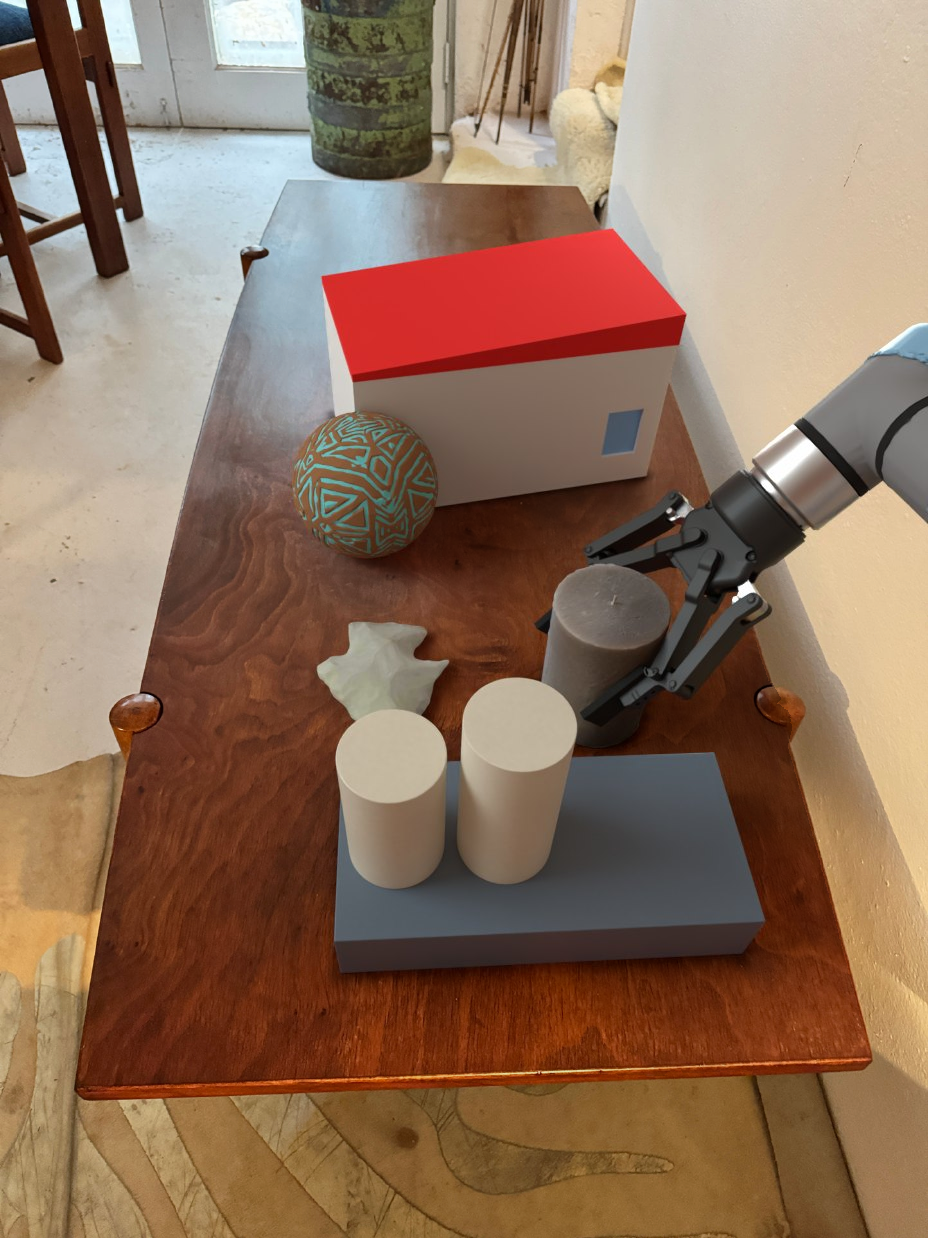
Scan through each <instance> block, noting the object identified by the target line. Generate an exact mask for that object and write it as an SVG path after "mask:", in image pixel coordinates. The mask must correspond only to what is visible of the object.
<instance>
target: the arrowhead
mask: <svg viewBox="0 0 928 1238" xmlns="http://www.w3.org/2000/svg"><path fill="white" fill-rule="evenodd" d="M347 627H348V632H347V634H348V642H349V647H348V650H347V652H345V653H344V654H343V655H333V656H332V655H331V656H330V657H328V658H327V659H326V660H325V661H323V662H321V663H320V664H318V665H317V667H316V671H317V675H318V678H319V680H321V681H323V682H324V684H325V685H326V686H327V687H328V688H329V691H330V694H331V695H332V696H333V698H335V699H336V700H337V701H338V702H339V703H340V704H342V705H343V706H344V707H345V709H346V710H347V712H348V715H349V716H350V718H351V719H352V720H354V722H356V721H357V720H359V719H360V718H362V717H364V716H366V715H368V714H371V713H374V712H377V711H381V710H389V709H397V710H405V711H410V712H413V713H416V714H418V715H420V716H422V715H423V714H424V712H425V711H426V709H427V707H428V706H429V704H430V703H431V698H432V694H433V690H434V685H435V682H436V680H438V678H439V677H440V676H441V675H442V673H443V672H444V670H445V669H446V668H447V667H448V665H449V664H450V660H449V659H443V660H442V659H441V660H440V661H439V660H438V661H437V660H431V659H430V660H429V659H427V660H422V659H418V658H416V657H415V655H414V653H415V650H416V648H418V647H420V645H421V644H422V643H423V641H424V639H425V638H426V636H427V635H428V631H427V629H426V628H424V627H423V626H421V625H412V624H408V623H397V622H394V621H391V622H383V623H382V622H381V623H380V622H372V621H353V622H350V623H348V626H347Z"/></svg>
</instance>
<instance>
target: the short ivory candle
mask: <svg viewBox="0 0 928 1238" xmlns="http://www.w3.org/2000/svg"><path fill="white" fill-rule="evenodd" d="M447 761H448V751H447V745H446V741H445V739H444V737H443V735H442V733H441V732H440V730H439V729H438V728H437V726H436V725H434V724H433V723H432V722H431V721H430V720H429V719H427V718H425V717H424V716H422V715H421V716H420V715H418V714H416V713H413V712H410V711H405V710H397V709H389V710H381V711H377V712H374V713H371V714H368V715H366V716H364V717H362V718H360V719H359V720H357V721H354V722H353V723H352V724H351V725H349V727H348V728H346V730H345V731H344V732H343V734H342V736H341V737H340V739H339V742H338V743H337V746H336V750H335V766H336V767H335V768H336V774H337V779H338V787H339V793H340V795H341V801H342V807H343V814H344V821H345V827H346V834H347V841H348V847H349V854H350V858H351V861H352V863H353V865H354V867H355V869H356V870H357V871H358V873H359V874H360V875H361V876H362V877H363V878H364V879H366V880H367V881H369V882H370V883H372V884H374V885H377V886H379V887H383V888H388V889H401V888H407V887H411V886H413V885H416V884H418V883H420V882H422V881H423V880H425V879H426V878H427V877H429V876H430V875H431V874H432V873H433V872H434V870H435V869H436V868H437V866H438V865H439V863H440V861H441V859H442V856H443V852H444V843H445V808H446V773H447Z"/></svg>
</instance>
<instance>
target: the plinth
mask: <svg viewBox="0 0 928 1238" xmlns="http://www.w3.org/2000/svg"><path fill="white" fill-rule="evenodd" d="M460 762H461V760H452V761H448V760H447V773H446V808H445V843H444V852H443V856H442V859H441V861H440V863H439V865H438V866H437V868H436V869H435V870H434V872H433V873H432V874H431V875H430V876H429V877H427V878H426V879H425V880H423V881H422V882H420V883H418V884H416V885H413V886H411V887H407V888H401V889H388V888H383V887H379V886H377V885H374V884H372V883H370V882H369V881H367V880H366V879H364V878H363V877H362V876H361V875H360V874H359V873H358V871H357V870H356V869H355V867H354V865H353V863H352V861H351V858H350V854H349V847H348V841H347V834H346V827H345V821H344V814H343V807H342V801H341V794H340V798H339V799H340V800H339V821H338V841H337V842H338V843H337V864H336V867H337V869H336V885H335V886H336V887H335V905H334V906H335V909H334V910H335V911H334V927H333V929H334V931H333V943H334V947H335V953H336V957H337V962H338V966H339V971H340V973H341V974H348V973H349V974H350V973H352V974H353V973H369V972H372V973H373V972H387V971H389V972H391V971H392V972H393V971H413V970H432V969H451V968H452V969H453V968H473V967H494V966H496V967H497V966H513V965H514V966H515V965H535V964H537V965H538V964H555V963H576V962H579V963H580V962H597V961H600V962H601V961H618V960H634V959H635V960H638V959H639V960H640V959H641V960H642V959H657V958H658V959H659V958H678V957H679V958H680V957H681V958H682V957H699V956H700V957H701V956H703V957H704V956H719V955H720V956H721V955H723V956H724V955H740V954H741V955H742V954H743V953H744V952H745V950H747V948H748V946H749V945H750V944H751V942H752V941H753V940H754V938H755V937H756V935H757V934H758V933H759V932H760V930H761V929H762V927H763V926H764V924H765V923H766V919H765V918H766V917H765V915H764V912H763V908H762V905H761V902H760V899H759V895H758V893H757V892H758V891H757V889H756V884H755V882H754V879H753V876H752V872H751V869H750V865H749V863H748V862H749V861H748V858H747V856H746V852H745V849H744V846H743V845H744V844H743V843H742V839H741V835H740V833H739V829H738V826H737V823H736V819H735V816H734V813H733V809H732V806H731V802H730V799H729V797H728V793H727V790H726V786H725V783H724V779H723V776H722V773H721V769H720V767H719V763H718V761H717V757H716V754H715V752H694V753H693V752H692V753H691V752H689V753H688V752H687V753H662V754H660V753H659V754H657V753H656V754H628V755H626V754H625V755H603V756H602V755H601V756H600V755H599V756H597V755H596V756H572V758H571V762H570V767H569V771H568V776H567V780H566V784H565V789H564V793H563V798H562V802H561V806H560V811H559V815H558V819H557V824H556V828H555V833H554V837H553V841H552V846H551V850H550V854H549V857H548V859H547V861H546V863H545V865H544V866H543V868H542V869H541V870H540V871H539V872H538V873H537V874H535V875H534V876H533V877H531V878H529V879H528V880H525V881H523V882H519V883H515V884H497V883H492V882H489V881H486V880H484V879H482V878H480V877H479V876H477V875H476V874H474V873H473V872H472V871H471V870H470V869H469V868H468V867H467V866H466V865H465V863H464V862H463V860H462V858H461V856H460V854H459V851H458V847H457V821H458V801H459V782H460Z"/></svg>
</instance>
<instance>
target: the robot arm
mask: <svg viewBox="0 0 928 1238" xmlns="http://www.w3.org/2000/svg"><path fill="white" fill-rule="evenodd" d="M751 463H752V464H753V467H752V468H751V469H750V470H748V469H747V468H743V469H741V468H740V469H738V470H737V471H736V472H735V473H734V474H732V475H731V476H730V477H729V478H728V479H727V480H726V481H724V482H723V483H722V484H720V485H719V486H718V487H717V488H716V489H715V490H714V491H712V492H711V493H710V495H709V500H708V501H707V503H705V504H704V505H702V506H699V507H696V508H694V507H693V503H692V502H691V501H689V499H687V498H686V497H685V496H684V495H683V494H682V493H681V492H679V490H677V489H672V490H670V491H669V492H668V493H667V494H665V495H664V496H663V498H661V499H660V500H659V501H658V502H657V504H656V505H654V506H653V507H652V508H650V509H648V510H646V511H645V512H642V513H641V514H639V515H637V516H635V517H634V518H631V519H630V520H628V521H626V522H625V523H623V524H621V525H620V526H618V527H616V528H615V529H612V530H611V531H609V532H607V533H606V534H603V535H602V536H600V537H598V538H597V539H595V540H593V541H591V542H590V543H587V544H586V545H585V546H584V548H583V553H582V554H583V555H584V556H585V557H586V560H587V561H586V562H587V565H586V567H589V566H590V565H592V566H593V565H595V564H605V565H606V564H615V565H617V566H622V567H625V568H630V569H632V570H635V571H637V572H639V573H642V574H644V575H646V574H649V573H653V572H657V571H661V570H664V569H669V568H671V569H678V570H679V571H680V572H681V575H682V578H683V581H684V582H685V583H686V584H687V587H686V590H685V592H684V602H683V604H682V605H681V608H680V610H679V612H678V613H677V615H676V617H675V619H674V620H673V623H672V625H671V627H670V629H669V630H668V632H667V635H666V638H665V640H664V642H663V644H662V646H661V648H660V650H659V652H658V654H657V656H656V658H655V660H654V662H653V664H652V666H651V667H650V669H649V668H647V667H644V666H642V665H641V664H640V665H639V666H638V667H636V668H635V669H634V670H633V671H631V672H630V673H629V674H628V675H626V676H625V677H624V678H623V679H621V680H620V681H619V682H618V683H616V684H615V685H614V686H612V687H611V688H610V689H609V690H607V691H606V692H605V693H604V694H602V695H601V696H600V697H599V698H597V699H596V700H595V701H593V702H592V703H591V704H590V705H588V706H587V707H586V708H585V709H583V710H582V711H581V712H580V713H581V715H582V717H583V719H584V720H586V721H588V722H591V723H593V724H595V725H597V726H600V727H602V726H603V725H605V724H606V723H607V722H609V721H610V720H611V719H612V718H614V717H615V716H616V715H618V714H619V713H620V712H622V711H623V710H624V709H625V708H629V709H631V710H637V709H639V708H641V707H642V706H643V705H644V704H645V705H646V704H647V703H649V702H650V701H651V700H653V699H654V698H656V697H657V696H658V695H659V694H661V693H662V692H663V691H667V692H670V693H671V694H673V695H675V696H677V697H678V698H681V699H682V700H684V701H688V700H691V699H692V698H693V697H694V696H695V695H696V694H697V692H698V691H699V690H700V689H701V687H703V685H704V684H705V683H706V681H707V680H708V679H709V678H710V676H711V675H712V674H713V673H714V672H715V671H716V669H717V668H718V667H719V666H720V665H721V664H722V662H723V661H724V660H725V659H726V657H727V656H728V655H729V654H730V653H731V651H733V649H734V648H735V647H736V645H738V643H739V642H740V641H741V640H742V638H743V637H744V636H745V634H746V633H747V632H748V631H749V630H750V629H751V628H753V627H755V626H756V625H757V624H759V623H760V622H761V621H763V620H765V619H767V618H768V617H769V616H770V615H771V614H772V613H773V607H772V605H771V604H770V603H769V602H768V601H767V600H765V599H764V597H762V595H761V594H760V592H759V591H758V589H757V587H756V586H755V584H756V582H757V579H758V578H759V576H760V575H761V573H763V571H765V570H767V569H768V568H772V567H774V566H775V565H777V564H779V563H780V562H781V561H782V560H783V559H785V558H786V557H787V556H788V555H790V554H791V553H793V551H795V550H796V549H798V548H799V547H800V546H802V545H803V544H804V543H805V542H806V540H805V539H807V535H806V533H805V532H806V531H807V530H808V529H809V528H811V530H813V531H819V530H821V529H822V528H823V527H825V526H826V525H827V524H828V523H830V522H831V521H832V520H833V519H836V517H838V516H839V515H840V514H842V513H843V512H844V511H845V510H847V509H848V508H849V507H850V506H852V505H853V504H854V503H856V502H857V501H858V500H859V499H860V498H862V497H863V496H865V495H866V494H868V492H870V491H872V490H873V489H874V488H876V486H878V485H880V484H881V482H883V483H884V484H885V485H886V486H887V487H888V488H889V489H891V490H892V491H893V492H894V493H895V494H896V495H897V496H898V497H899V498H900V499H901V500H902V501H904V502H905V504H906V505H907V506H909V507H910V509H912V510H913V511H914V512H915V513H916V515H918V516H919V517H920V518H921V519H922V520H923V521H924V522H925V523H926V524H927V525H928V322H920V323H915V324H913V325H911V326H909V327H908V328H907V329H906V330H904V331H903V332H901V333H900V334H898V336H896V337H894V338H893V339H892V340H891V341H890V342H888V343H887V344H886V345H884V346H883V347H881V348H880V349H879V350H878V351H876V352H873V353H871V354H870V355H869V356H867V358H866V359H865V360H864V361H863V363H862V364H861V365H860V366H859V367H857V368H856V370H854V371H853V372H852V373H851V374H849V376H847V377H846V378H845V379H844V380H843V381H842V382H840V383H839V384H838V385H837V386H835V388H833V389H832V390H831V391H830V392H829V393H828V394H827V395H825V396H824V397H823V398H822V399H821V400H819V401H818V402H817V403H816V404H815V405H814V406H813V407H812V408H810V409H809V410H808V411H807V412H806V413H805V414H803V415H802V416H801V418H798V420H796V421H795V422H794V423H793V424H791V425H790V426H789V427H788V428H786V429H785V430H784V431H782V432H781V433H780V434H779V435H778V436H776V438H774V439H773V440H772V441H771V442H769V443H768V444H767V445H766V446H765V447H763V448H762V449H761V450H760V451H759V452H758V453H756V454H755V455H754V456H752V459H751ZM679 525H680V529H679V531H678V533H675V534H672V535H668V536H664V537H662V538H659V537H660V536H662V535H663V534H664V535H665V533H667V532H669V531H670V530H672V529H673V528H674V527H676V526H679ZM656 538H659V539H656ZM654 539H656V540H655V541H654V543H653V544H649V545H646V546H643V545H645V544H647V543H649V542H651V541H652V540H654ZM642 546H643V547H642ZM731 593H737V594H736V595H734V596H732V599H731V605H729V606H728V607H727V608H726V609H725V610H724V611H723V612H722V613H721V614H720V615H719V616H718V618H717V619H716V620H715V622H713V624H711V626H710V627H709V629H708V630H707V631H706V632H705V634H704V635H703V632H704V630H705V629H706V626H707V624H708V622H709V621H710V618H711V617H712V616H713V615H715V614H716V613H717V612H718V611H719V608H720V606H721V605H722V603H723V601H724V599H725V597H726V595H727V594H731ZM552 609H553V607H551V608H550V609H549V610H547V612H545V613H544V614H543V615H542V616H540V618H538V619H537V620H536V621H535V622H534V623H533V624H534V626H535V628H536V630H537V631H539V632H541V633H543V634H545V635H547V636H548V632H549V629H550V621H551V616H552ZM702 635H703V636H702ZM701 636H702V637H701ZM700 638H701V639H700Z"/></svg>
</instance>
